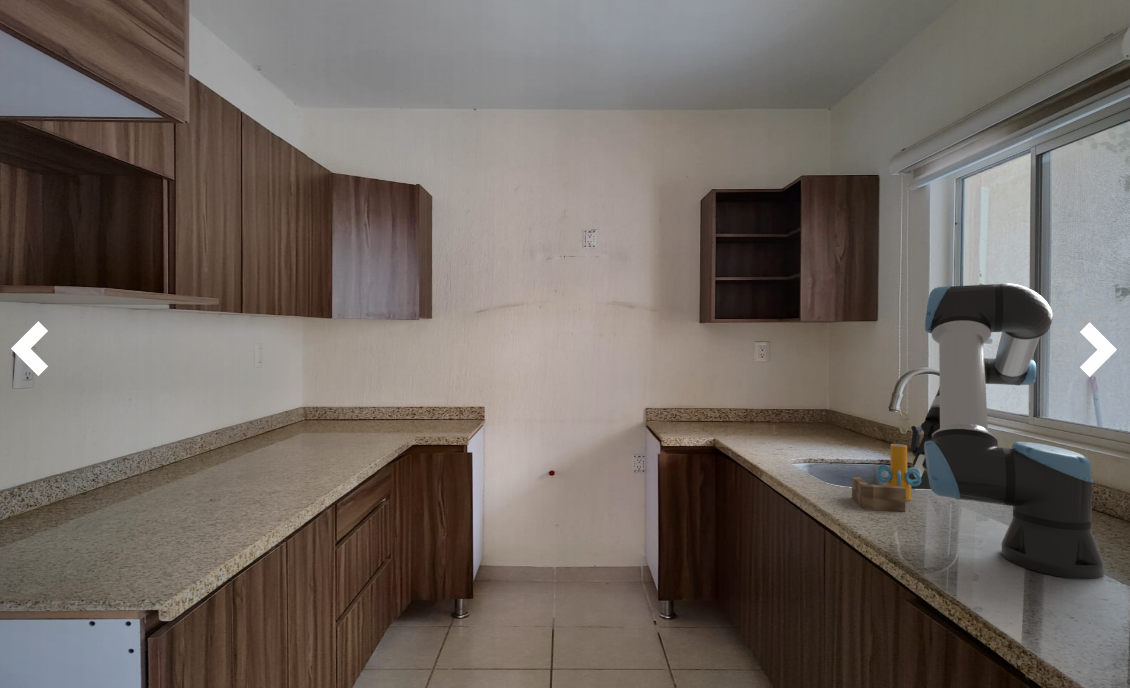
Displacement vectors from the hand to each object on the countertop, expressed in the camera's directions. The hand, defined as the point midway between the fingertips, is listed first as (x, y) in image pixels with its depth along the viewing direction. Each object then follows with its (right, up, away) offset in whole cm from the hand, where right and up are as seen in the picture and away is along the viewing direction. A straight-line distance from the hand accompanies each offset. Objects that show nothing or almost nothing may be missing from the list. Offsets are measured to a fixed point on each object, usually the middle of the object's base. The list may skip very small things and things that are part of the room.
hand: (916, 475), depth 156 cm
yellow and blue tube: (-9, -5, -5) cm, 11 cm away
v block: (-20, -5, -13) cm, 24 cm away
